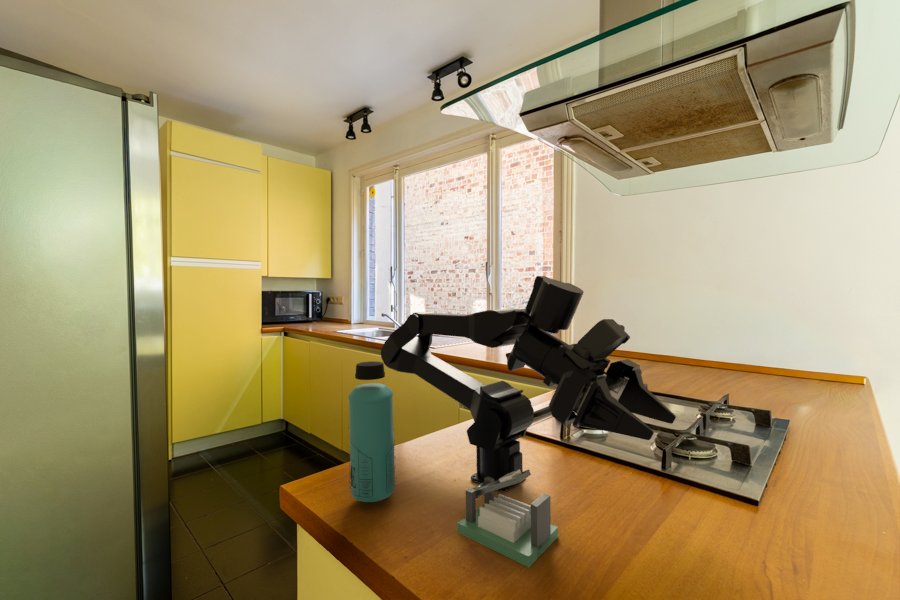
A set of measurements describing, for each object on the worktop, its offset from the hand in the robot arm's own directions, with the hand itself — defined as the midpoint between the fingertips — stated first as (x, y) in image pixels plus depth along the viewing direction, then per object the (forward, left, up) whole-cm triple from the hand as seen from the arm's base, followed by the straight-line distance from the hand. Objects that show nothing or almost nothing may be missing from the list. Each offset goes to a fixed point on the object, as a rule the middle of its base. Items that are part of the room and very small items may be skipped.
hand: (664, 427), depth 46 cm
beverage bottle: (-34, -16, -14) cm, 40 cm away
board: (-15, -10, -14) cm, 23 cm away
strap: (-16, -10, -8) cm, 21 cm away
